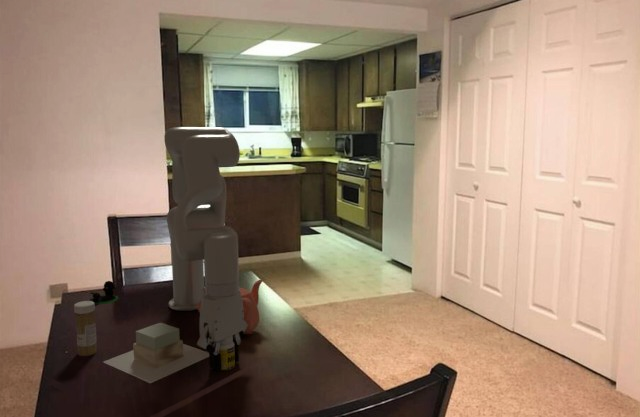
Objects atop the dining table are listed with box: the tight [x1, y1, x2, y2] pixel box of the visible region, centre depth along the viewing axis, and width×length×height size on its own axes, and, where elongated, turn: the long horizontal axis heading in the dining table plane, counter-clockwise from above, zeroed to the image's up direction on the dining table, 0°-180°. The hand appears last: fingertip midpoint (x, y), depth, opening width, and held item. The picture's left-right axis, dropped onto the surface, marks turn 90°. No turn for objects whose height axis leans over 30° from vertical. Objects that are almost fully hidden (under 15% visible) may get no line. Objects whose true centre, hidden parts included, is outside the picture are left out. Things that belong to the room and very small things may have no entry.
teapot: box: [197, 278, 264, 336], centre depth 142 cm, size 16×17×14 cm
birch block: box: [132, 339, 184, 369], centre depth 125 cm, size 8×8×4 cm
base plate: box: [102, 343, 209, 384], centre depth 125 cm, size 18×18×1 cm
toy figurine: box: [88, 280, 119, 305], centre depth 171 cm, size 10×10×6 cm
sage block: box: [135, 322, 181, 350], centre depth 124 cm, size 7×7×3 cm
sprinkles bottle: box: [73, 300, 98, 357], centre depth 127 cm, size 5×5×13 cm
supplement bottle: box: [213, 335, 236, 372], centre depth 120 cm, size 5×5×8 cm
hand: (224, 363), depth 120 cm, fingers closed on supplement bottle, 4 cm apart
